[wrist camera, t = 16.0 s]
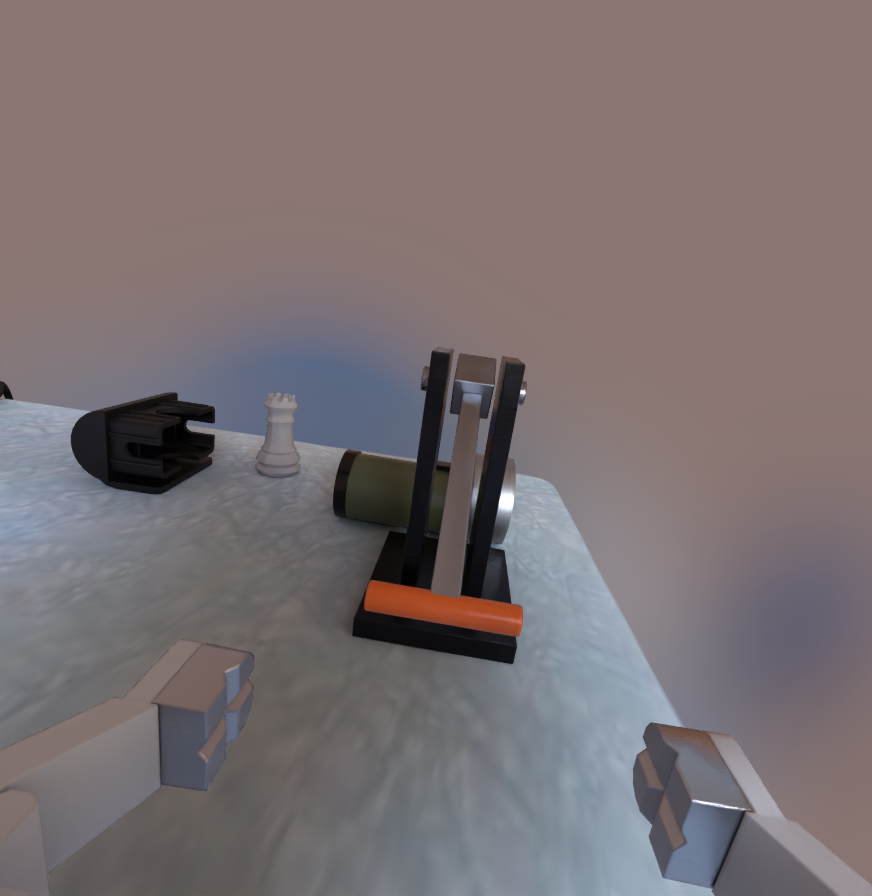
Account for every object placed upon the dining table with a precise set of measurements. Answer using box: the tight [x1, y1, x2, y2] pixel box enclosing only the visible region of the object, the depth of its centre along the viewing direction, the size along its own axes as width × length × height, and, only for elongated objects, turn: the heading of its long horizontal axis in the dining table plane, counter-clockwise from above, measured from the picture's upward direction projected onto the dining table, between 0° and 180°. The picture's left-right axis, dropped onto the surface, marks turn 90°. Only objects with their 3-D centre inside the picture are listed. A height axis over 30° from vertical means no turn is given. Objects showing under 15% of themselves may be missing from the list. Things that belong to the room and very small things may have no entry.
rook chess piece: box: [255, 393, 300, 477], centre depth 47 cm, size 4×4×8 cm
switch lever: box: [364, 353, 523, 637], centre depth 22 cm, size 16×6×2 cm
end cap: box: [71, 393, 215, 494], centre depth 42 cm, size 10×7×7 cm
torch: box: [333, 449, 516, 544], centre depth 39 cm, size 14×7×7 cm, turn 86°
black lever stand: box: [352, 347, 527, 664], centre depth 28 cm, size 11×9×16 cm
